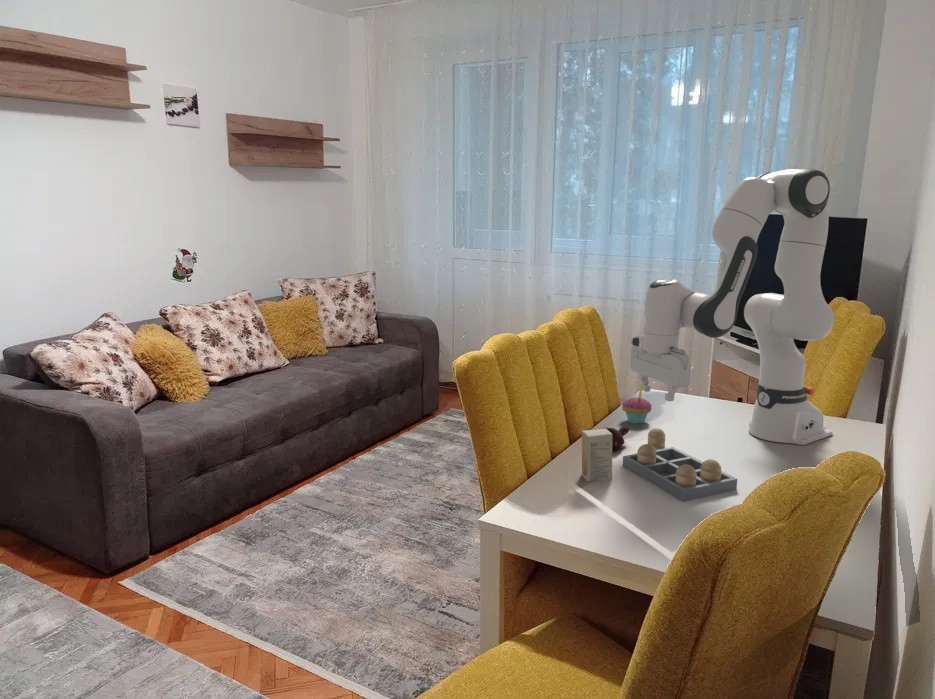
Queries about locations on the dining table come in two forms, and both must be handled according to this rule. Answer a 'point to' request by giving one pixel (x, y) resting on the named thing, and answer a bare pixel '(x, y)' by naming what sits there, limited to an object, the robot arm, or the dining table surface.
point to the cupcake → (636, 408)
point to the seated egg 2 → (686, 476)
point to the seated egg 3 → (710, 471)
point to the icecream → (618, 437)
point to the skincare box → (597, 454)
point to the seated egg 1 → (646, 454)
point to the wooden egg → (656, 438)
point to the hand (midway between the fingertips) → (657, 395)
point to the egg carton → (665, 475)
